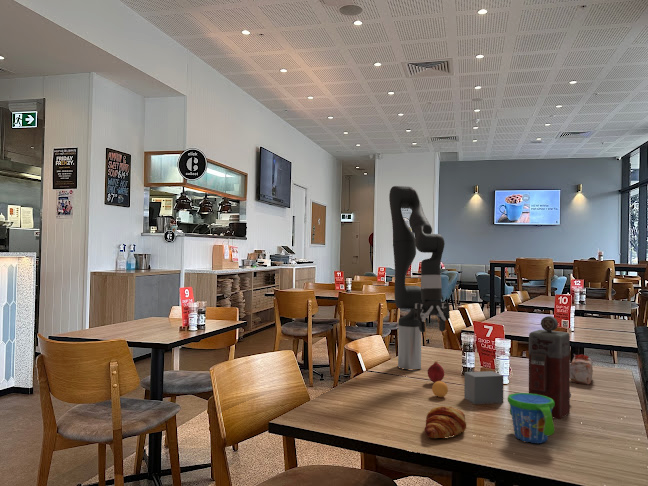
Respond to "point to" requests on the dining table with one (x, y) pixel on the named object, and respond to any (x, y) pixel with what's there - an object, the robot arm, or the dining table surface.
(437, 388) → the ball
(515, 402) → the snack cup
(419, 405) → the dining table surface
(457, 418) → the croissant
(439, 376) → the onion
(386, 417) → the dining table surface
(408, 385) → the dining table surface
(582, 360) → the food item
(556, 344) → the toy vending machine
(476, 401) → the grey rectangular box
